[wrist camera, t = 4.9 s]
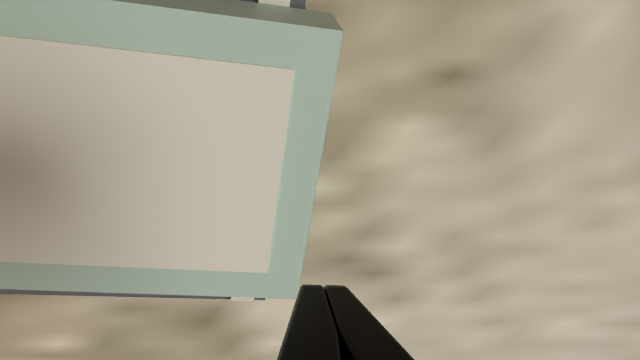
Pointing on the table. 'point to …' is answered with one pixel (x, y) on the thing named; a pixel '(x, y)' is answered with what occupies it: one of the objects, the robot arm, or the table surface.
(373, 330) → the robot arm
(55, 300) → the table surface
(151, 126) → the tile
